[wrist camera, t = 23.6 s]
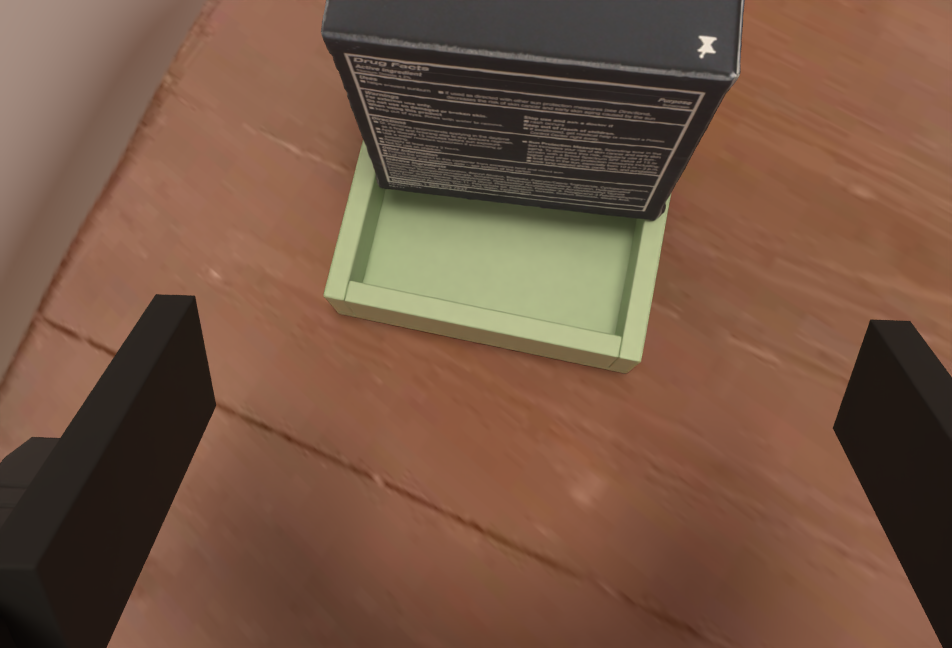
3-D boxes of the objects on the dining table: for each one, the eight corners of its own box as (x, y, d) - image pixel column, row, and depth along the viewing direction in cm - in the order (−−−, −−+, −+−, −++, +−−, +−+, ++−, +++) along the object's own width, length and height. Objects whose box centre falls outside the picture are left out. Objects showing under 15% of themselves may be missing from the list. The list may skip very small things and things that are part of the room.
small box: (675, 61, 31) (765, -147, 21) (660, 225, 30) (749, 89, 20) (399, 32, 32) (355, -187, 21) (373, 192, 31) (313, 42, 20)
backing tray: (338, 313, 33) (322, 296, 30) (425, -33, 36) (418, -81, 33) (627, 374, 32) (641, 362, 29) (691, 16, 35) (711, -29, 32)
